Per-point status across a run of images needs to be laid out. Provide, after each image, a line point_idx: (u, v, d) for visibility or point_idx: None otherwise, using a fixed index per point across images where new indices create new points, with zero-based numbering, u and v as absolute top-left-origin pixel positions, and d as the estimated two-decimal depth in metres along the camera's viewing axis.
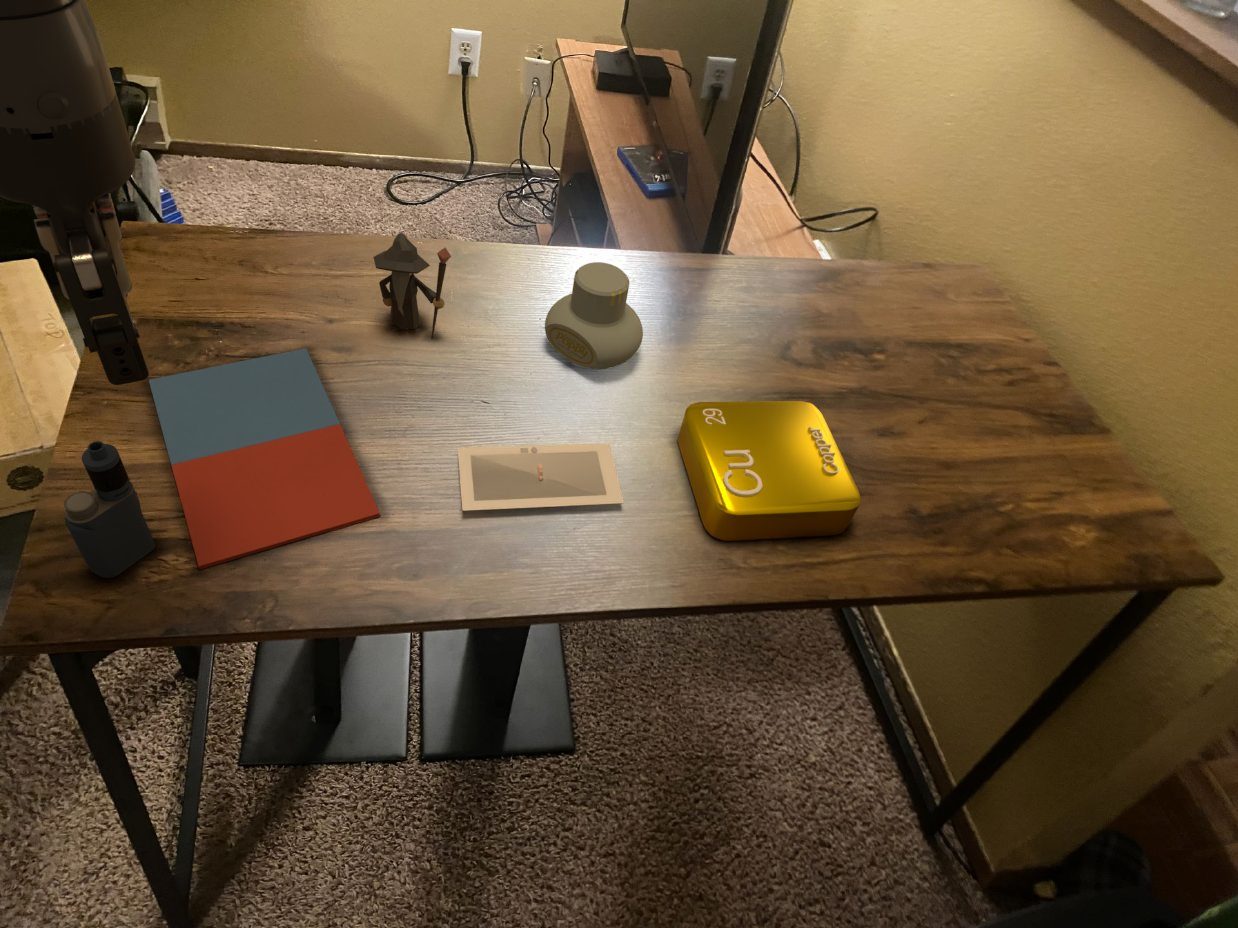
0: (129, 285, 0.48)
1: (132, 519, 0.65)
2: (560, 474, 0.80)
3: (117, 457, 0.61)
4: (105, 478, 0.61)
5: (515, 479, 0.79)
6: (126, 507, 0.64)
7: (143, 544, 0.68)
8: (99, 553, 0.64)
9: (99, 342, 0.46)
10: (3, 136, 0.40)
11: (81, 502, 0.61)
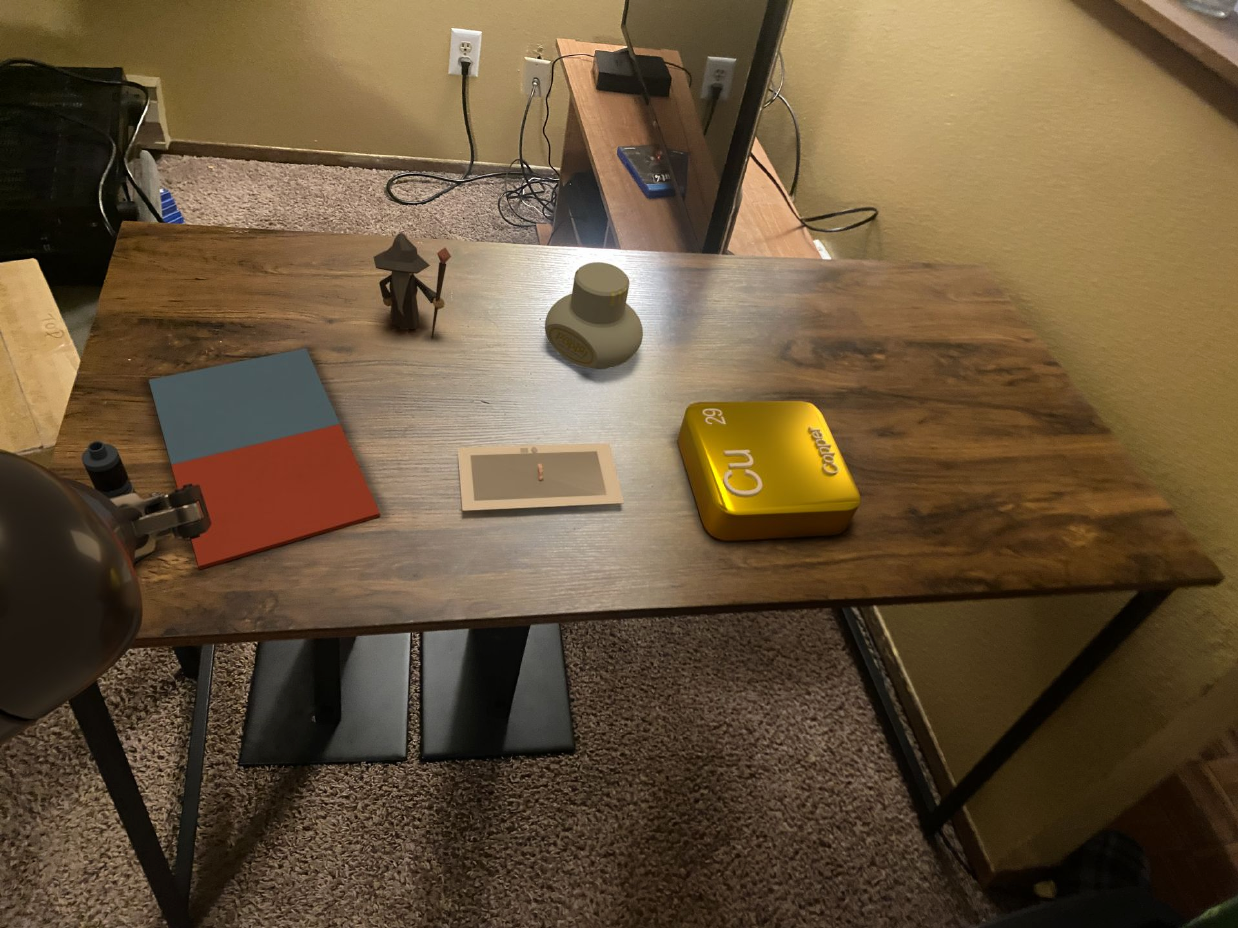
0: None
1: None
2: (560, 473, 0.80)
3: (117, 457, 0.61)
4: (105, 478, 0.61)
5: (515, 479, 0.79)
6: None
7: None
8: None
9: None
10: None
11: None
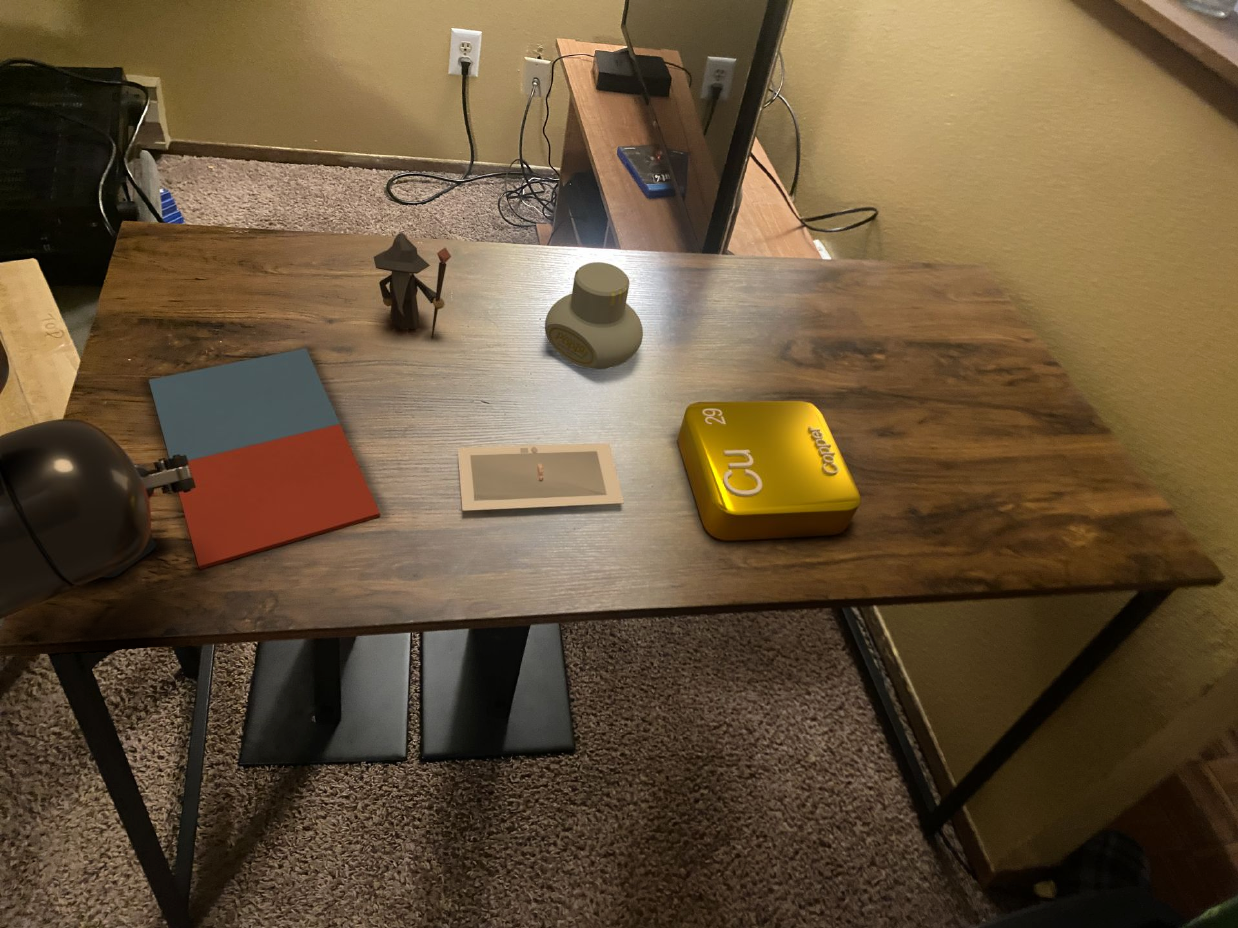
0: None
1: None
2: (560, 473, 0.80)
3: None
4: None
5: (515, 479, 0.79)
6: None
7: None
8: None
9: None
10: None
11: None
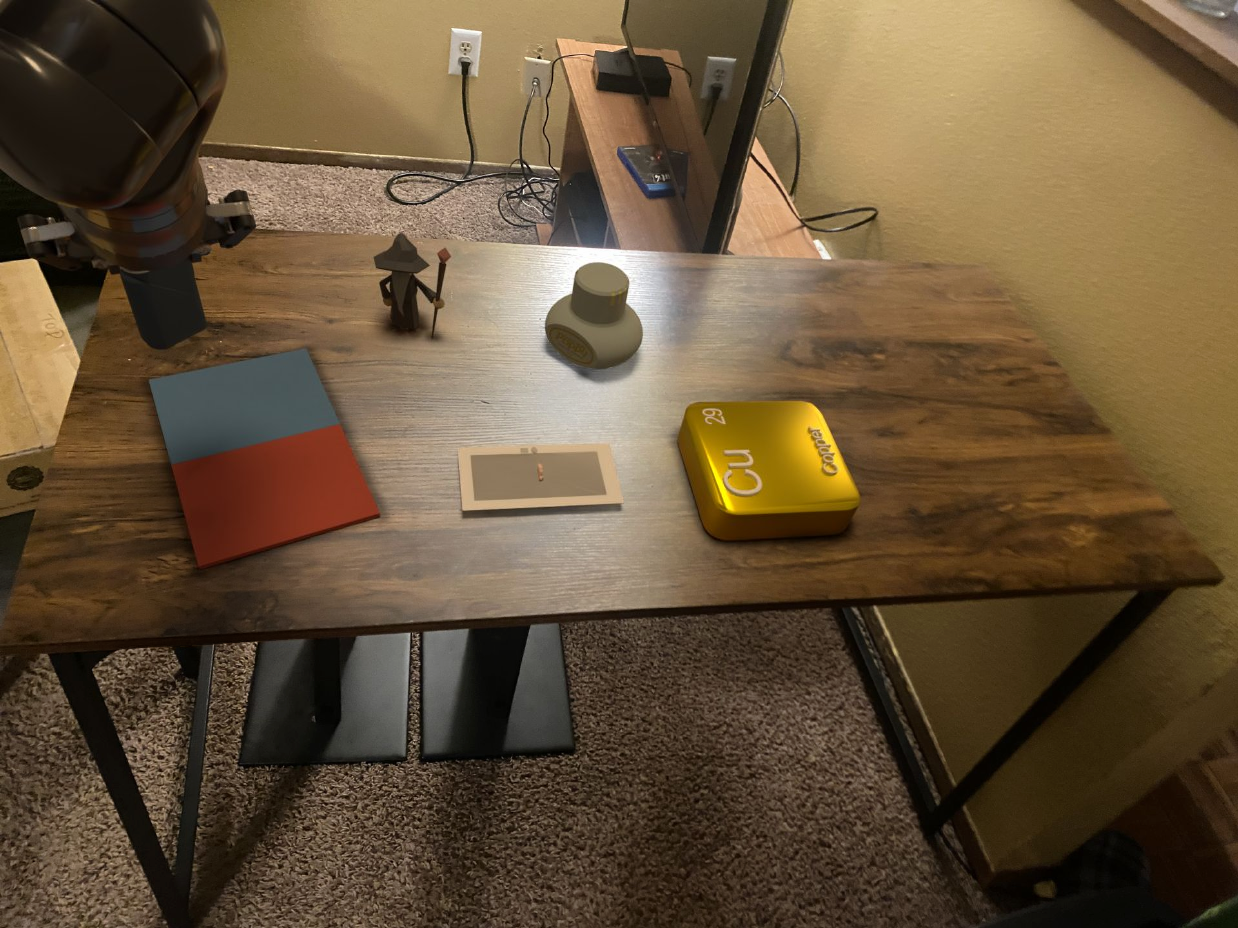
0: (103, 264, 0.56)
1: (186, 285, 0.64)
2: (560, 473, 0.80)
3: None
4: None
5: (515, 479, 0.79)
6: (181, 268, 0.63)
7: (196, 319, 0.66)
8: (153, 315, 0.63)
9: None
10: None
11: None
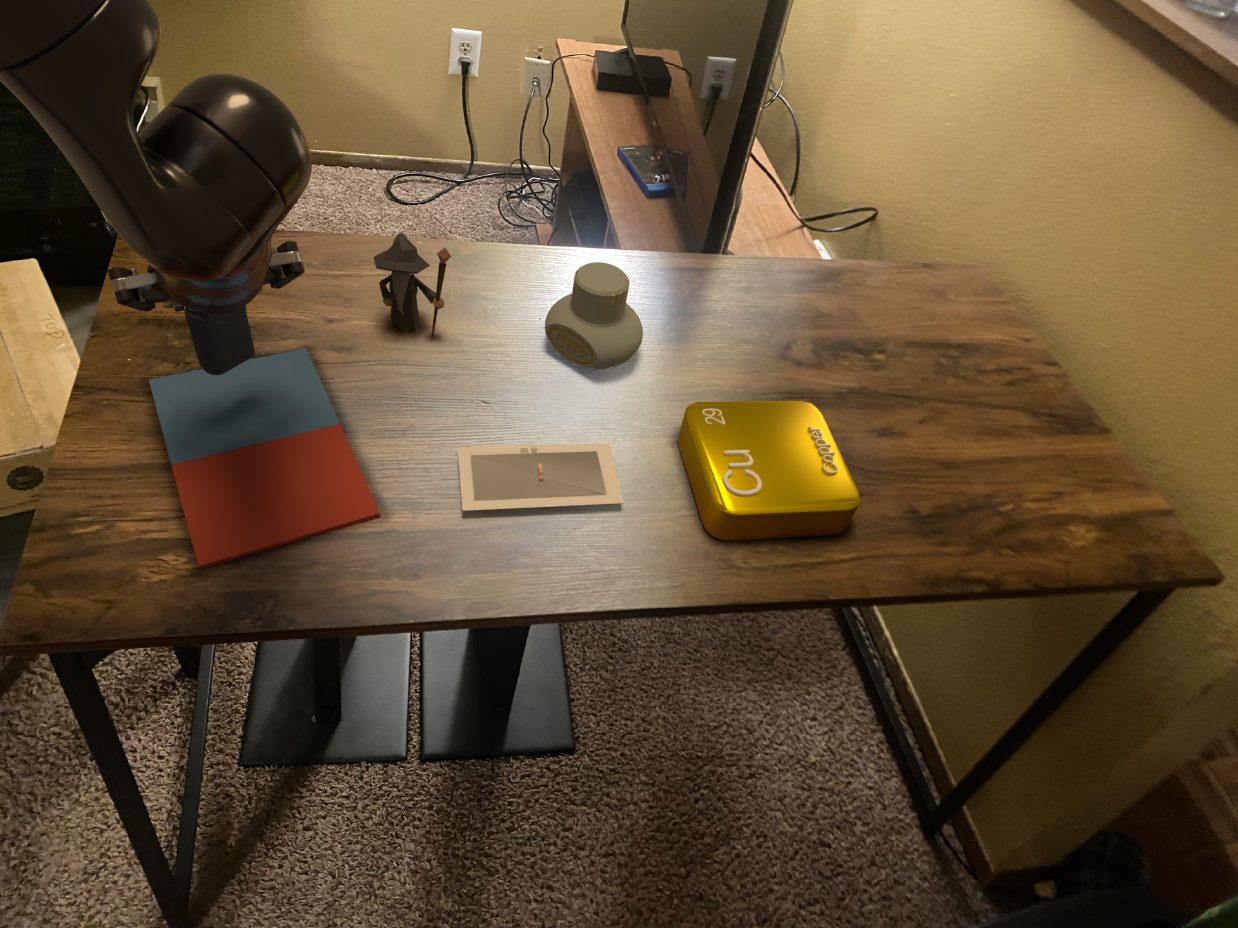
0: (175, 306, 0.66)
1: (239, 319, 0.73)
2: (560, 474, 0.80)
3: None
4: None
5: (515, 479, 0.79)
6: None
7: (246, 348, 0.76)
8: (212, 346, 0.72)
9: None
10: None
11: None
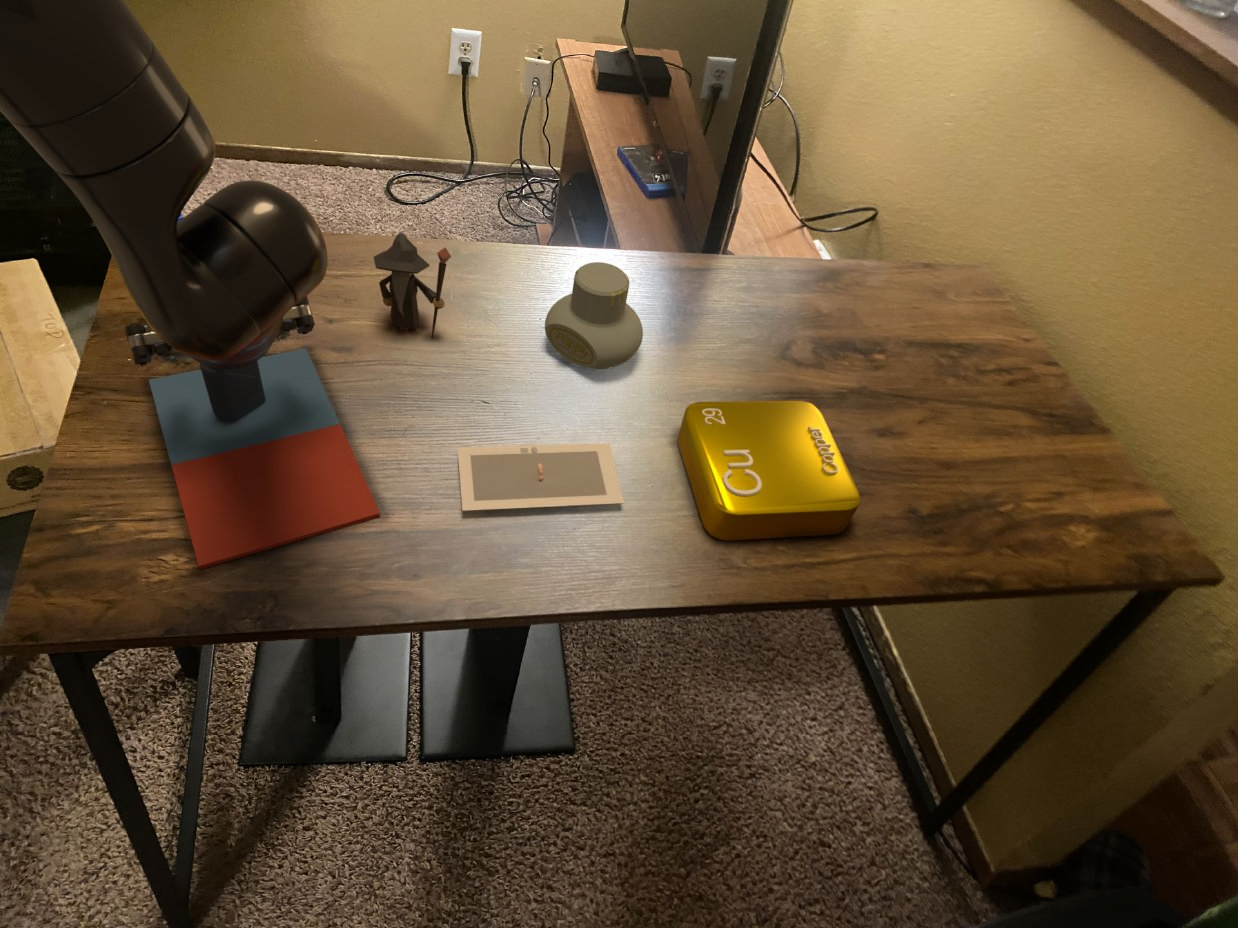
0: (178, 359, 0.69)
1: (251, 370, 0.78)
2: (560, 473, 0.80)
3: None
4: None
5: (515, 479, 0.79)
6: None
7: (257, 395, 0.80)
8: (225, 396, 0.76)
9: None
10: None
11: None
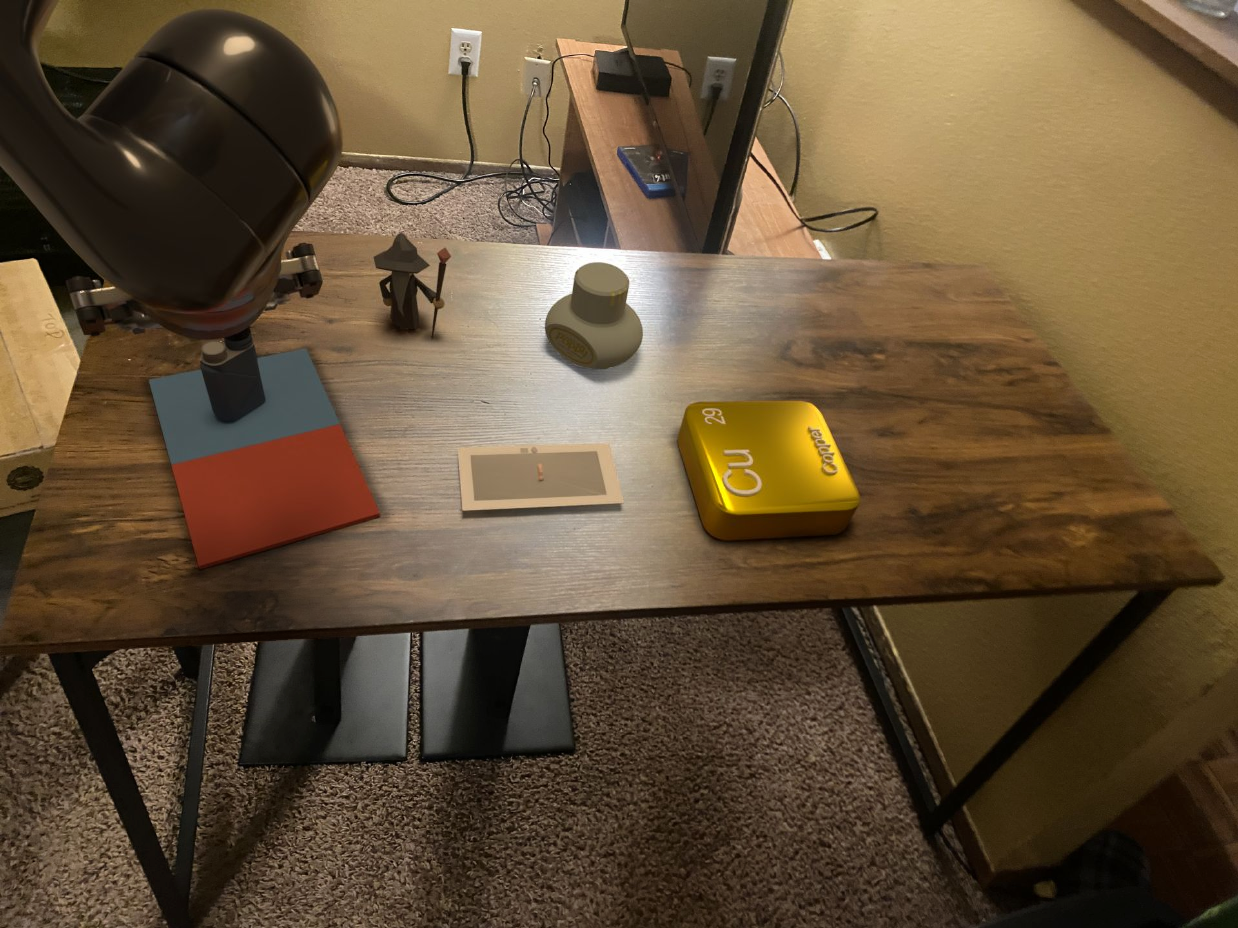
0: (141, 328, 0.52)
1: (251, 370, 0.78)
2: (560, 473, 0.80)
3: None
4: None
5: (515, 479, 0.79)
6: (248, 358, 0.76)
7: (257, 395, 0.80)
8: (225, 396, 0.76)
9: None
10: None
11: (215, 348, 0.74)
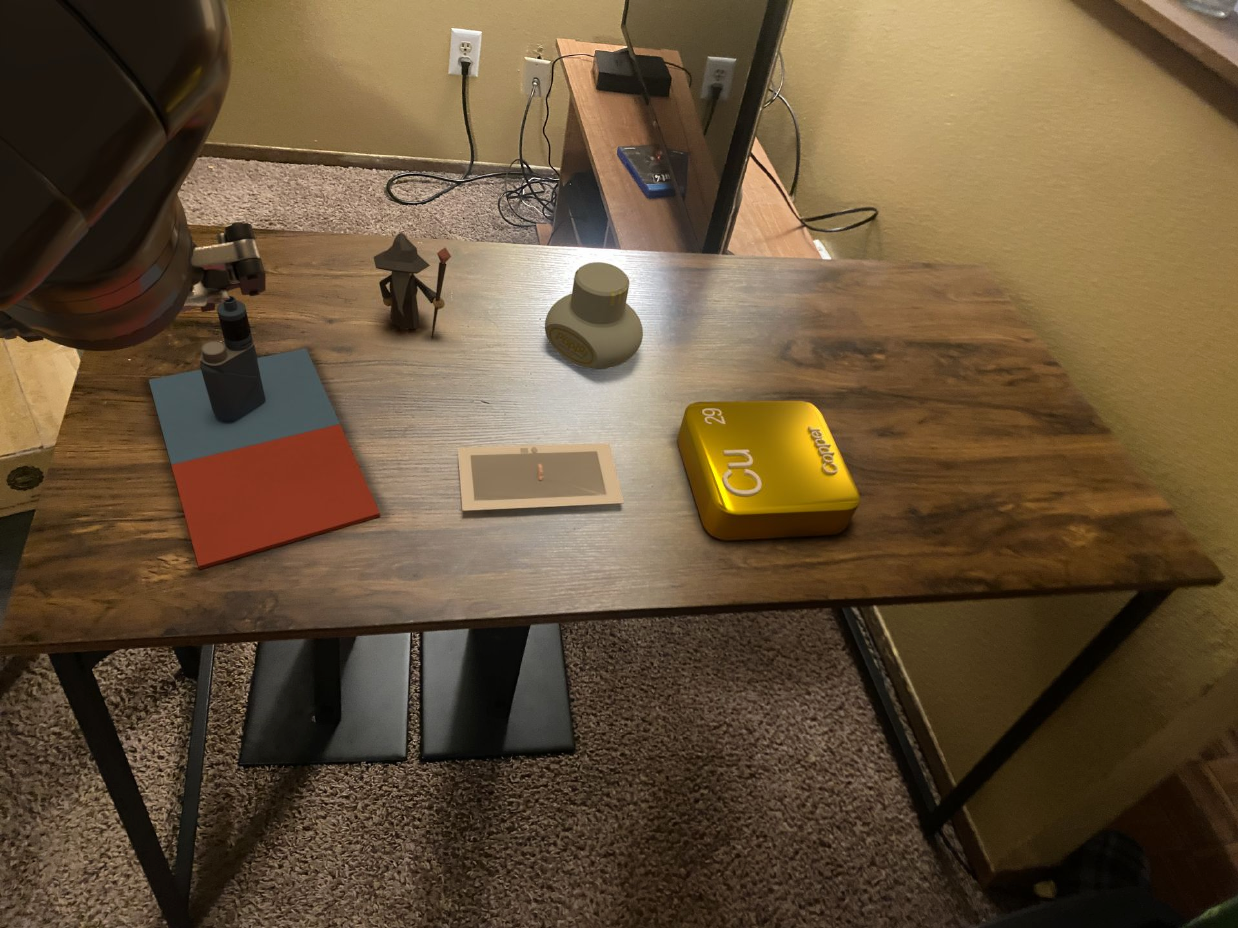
0: (23, 334, 0.39)
1: (251, 370, 0.78)
2: (560, 474, 0.80)
3: (245, 310, 0.74)
4: (235, 328, 0.74)
5: (515, 479, 0.79)
6: (248, 358, 0.76)
7: (257, 395, 0.80)
8: (225, 396, 0.76)
9: None
10: None
11: (215, 348, 0.74)
